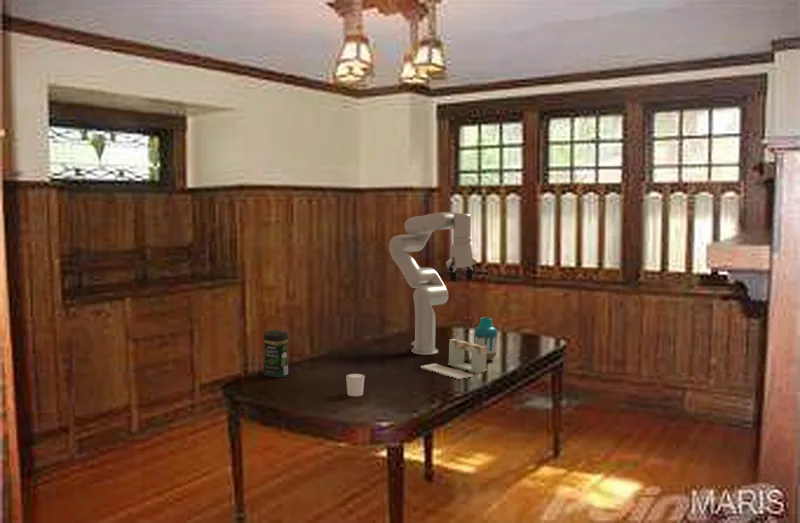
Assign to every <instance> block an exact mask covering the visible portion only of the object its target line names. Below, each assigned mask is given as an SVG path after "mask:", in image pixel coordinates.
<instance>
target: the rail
mask: <svg viewBox="0 0 800 523" xmlns="http://www.w3.org/2000/svg"><path fill="white" fill-rule="evenodd" d="M448 340H449V343H455V344H456V348H458V349H462V350H464V351H467V352H471V353H472V348H475V349H478V354H481V355H482V354H487V347H486V346H482V345H478V344H474V342H469V341H465V340H462V339H457V338H451V339H448ZM449 343H448V344H449Z"/></svg>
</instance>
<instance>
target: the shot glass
mask: <svg viewBox="0 0 800 523" xmlns="http://www.w3.org/2000/svg"><path fill="white" fill-rule="evenodd" d="M365 377H366V376H365V375H364V374H363V373H362V374H361V373H349V374H347V375H345V378H346V379H345V381H346V389H347V390H346V392H347V396H349V397H361V396H363V395H364V388H365V387H364V385H365Z"/></svg>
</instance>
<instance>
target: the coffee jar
mask: <svg viewBox="0 0 800 523" xmlns="http://www.w3.org/2000/svg"><path fill="white" fill-rule="evenodd" d="M262 341H263V345H264V361H263V363H264V364H263V375H264V376H266V377H270V378H277V379H278V378H284V377H286V376H288V374H289V362H288V353H287V352H288V350H287V349H288V343H289V336H288V333H287V331H283V330H282V331H281V330H275V329H270V330H266V331H264V333H263V340H262Z"/></svg>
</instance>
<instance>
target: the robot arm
mask: <svg viewBox="0 0 800 523" xmlns="http://www.w3.org/2000/svg"><path fill="white" fill-rule="evenodd" d="M471 225H472V216H471V214H469V213H467V212H465V213H462V212H460V213H459V212H455V211H452V212H449V211H447V212H445V211H443V212H435V213H428V214H425V215H419V216H413V217H409V218H407V219H406V221H405V222H404V226H403V227H404V230H405V232H407V234H399V235H395V236H393V237H392V238H391V239H390V241H389V244H388V251H389V254H390V257H391V259H392V260H393V262H394V263H395V264H396V265H397V267H398V268H399V270H400V271H401V273H402V275H403V277H404V279H405V281H406V282H407V284H408V285H409V286H410V287H411V288H412V289H414V291H413V295H412V298H413V302H414V314H415V316H414V318H415V319H414V322H415V323H414V340H413V341H412V342H411V344H410V345H411V346H413V348H412V349H411V353H412V352H413V353H412V354H414V355H423V356H429V355H430V356H432V355H436V354H438V353H439V349H438V348H436V312H435V310H434V308H433V306H438V305H440V306H441V305H444V304H446V303H447V301H448V300H449V291H448V289H447V287H446V284H445V283H444V282H443V280H442V278H441V276H440V275H439V273H438V271H437V270H435V268H433V267H420V266H419V264H418V263H417V261H416V260H415V259H414V257H413V256H411V255H410V254H408V253H413V252H414V253H415V252H421V251H422V250H423V249H424V248H425V246H426V244H427V242H428V241H429V239H430V237H431V236H432V233H433V232H435V231H439V230H453V232H452V234H453V235H452V238H453V240H452V243H453V244H451V246H450V252H449V260H447V261H445V264H446V268H447V270H448V272H449V281H450V282H456V281H457V272H456V271H457V270H458V268H466V271H465V279H466V280H468V281H472V280H473V271H474V269H475V267H476V263H477V260H476V259H475V258H473V249H472V244H471V242H472V238H471V234H472V232H471V228H472V226H471Z"/></svg>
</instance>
